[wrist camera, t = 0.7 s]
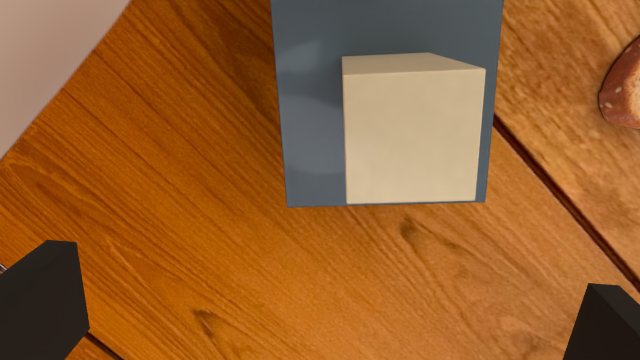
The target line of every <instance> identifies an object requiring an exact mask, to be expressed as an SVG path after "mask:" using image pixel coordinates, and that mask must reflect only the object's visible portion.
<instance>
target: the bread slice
mask: <svg viewBox="0 0 640 360" xmlns="http://www.w3.org/2000/svg"><path fill="white" fill-rule="evenodd" d="M599 105H600V109H601V112H602V115H603V117H604V119H606V120H607V121H609V122H611V123H613V124H616V125H619V126H627V127H631V128H635V129H640V37H639V38H638V39H637V40H636V41H635V42H633V43H632V44H631V45H630V46H629V47H628V48H627V49H626V50H625V52H624V53H623V54H622V56H621V57H620V58H619V59H618V60H617V61H616V62H615V64H614V66H613V67H612V69H611V70H610V72H609V74H608V75H607V77H606V79H605V81H604V85H603V88H602V90H601V92H600V93H599Z"/></svg>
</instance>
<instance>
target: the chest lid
mask: <svg viewBox="0 0 640 360" xmlns="http://www.w3.org/2000/svg"><path fill="white" fill-rule="evenodd" d="M503 1H504V0H270V6H271V19H272V31H273V43H274V55H275V68H276V80H277V92H278V104H279V117H280V129H281V141H282V153H283V166H284V178H285V190H286V202H287V207H320V206H358V205H396V204H433V203H471V202H485V199H486V188H487V177H488V166H489V155H490V144H491V133H492V122H493V111H494V100H495V89H496V78H497V67H498V56H499V45H500V34H501V23H502V12H503ZM427 52H429V53H432V54H436V55H439V56H443V57H446V58H450V59H453V60H457V61H460V62H464V63H467V64H471V65H474V66H477V67H481V68H484V69H485V70H486V73H485V85H484V97H483V110H482V122H481V134H480V146H479V158H478V171H477V183H476V195H475V200H474V201H440V202H402V203H365V204H347V203H346V180H345V149H344V117H343V84H342V57H343V56H364V55H385V54H406V53H427Z"/></svg>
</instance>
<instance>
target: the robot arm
mask: <svg viewBox="0 0 640 360" xmlns="http://www.w3.org/2000/svg"><path fill="white" fill-rule="evenodd" d="M89 329H90V326H89V320H88V313H87V307H86V301H85V294H84V288H83V282H82V275H81V269H80V262H79V256H78V250H77V243H76V242H68V241H55V240H46V241H45V242H44V243H42V244H41V245H40V246H38V247H37V248H36V249H34V250H33V251H31V252H30V253H29V254H27V255H26V256H25V257H23V258H22V259H21V260H19V261H18V262H17V263H15V264H14V265H12V266H11V267H10V268H8V269H7V270H6V271H4V272H3V273H2V274H0V360H64V359H65V358H66V357H67V356H68V355H69V353H70V352H71V351H72V350H73V348H74V347H75V346H76V345H77V344H78V342H79V341H80V340H81V339H82V338H83V336H84V335H85V334H86V333H87V331H88V330H89ZM563 360H640V305H639V304H638V303H637V302H636V301H635V300H634V299H633V298H632V297H631V296H630V295H629V294H627V293H626V292H625V291H624V290H623V289H622V288H621V287H620V286H618V285H605V284H593V283H588V286H587V289H586V292H585V295H584V298H583V301H582V304H581V307H580V310H579V313H578V316H577V319H576V322H575V325H574V327H573V330H572V333H571V336H570V339H569V342H568V345H567V348H566V351H565V354H564V357H563Z"/></svg>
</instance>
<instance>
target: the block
mask: <svg viewBox="0 0 640 360" xmlns="http://www.w3.org/2000/svg"><path fill="white" fill-rule="evenodd" d="M485 73H486V70H485V69H484V68H481V67H477V66H474V65H471V64H467V63H464V62H460V61H457V60H453V59H450V58H446V57H443V56H439V55H436V54H432V53H429V52H427V53H406V54H385V55H364V56H343V57H342V84H343V117H344V149H345V180H346V203H347V204H365V203H402V202H440V201H474V200H475V195H476V183H477V171H478V158H479V146H480V134H481V122H482V110H483V97H484V85H485Z"/></svg>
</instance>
